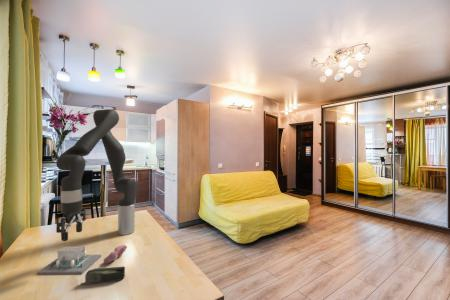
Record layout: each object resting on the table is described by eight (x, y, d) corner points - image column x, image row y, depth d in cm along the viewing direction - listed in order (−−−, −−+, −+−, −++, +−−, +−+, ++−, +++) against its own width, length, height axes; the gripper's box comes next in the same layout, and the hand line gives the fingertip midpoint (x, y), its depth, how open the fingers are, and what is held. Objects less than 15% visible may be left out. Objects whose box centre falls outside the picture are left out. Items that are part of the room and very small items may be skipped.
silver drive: (64, 259, 90) (64, 246, 90) (85, 259, 91) (85, 246, 91) (57, 264, 86) (57, 251, 86) (78, 264, 87) (78, 250, 87)
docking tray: (62, 256, 95) (62, 248, 95) (101, 256, 95) (101, 248, 95) (37, 274, 82) (37, 264, 82) (82, 273, 82) (82, 264, 82)
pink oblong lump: (109, 268, 89) (116, 255, 88) (101, 263, 89) (107, 249, 89) (124, 256, 99) (130, 244, 98) (116, 251, 99) (122, 239, 99)
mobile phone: (125, 264, 81) (83, 268, 78) (123, 268, 78) (79, 273, 75) (125, 276, 81) (83, 281, 78) (123, 281, 78) (79, 286, 75)
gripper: (68, 204, 81) (68, 243, 82) (90, 195, 95) (91, 229, 96) (49, 204, 81) (50, 244, 81) (74, 195, 95) (75, 229, 96)
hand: (72, 236), depth 89 cm, fingers open, 8 cm apart
